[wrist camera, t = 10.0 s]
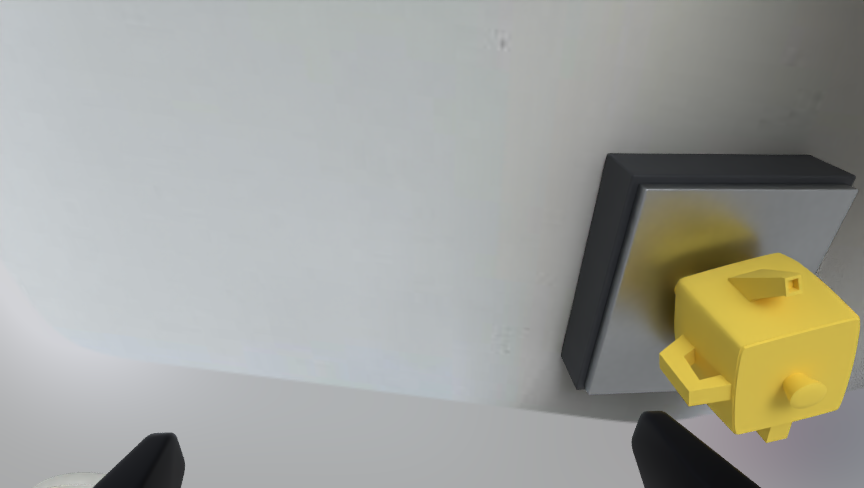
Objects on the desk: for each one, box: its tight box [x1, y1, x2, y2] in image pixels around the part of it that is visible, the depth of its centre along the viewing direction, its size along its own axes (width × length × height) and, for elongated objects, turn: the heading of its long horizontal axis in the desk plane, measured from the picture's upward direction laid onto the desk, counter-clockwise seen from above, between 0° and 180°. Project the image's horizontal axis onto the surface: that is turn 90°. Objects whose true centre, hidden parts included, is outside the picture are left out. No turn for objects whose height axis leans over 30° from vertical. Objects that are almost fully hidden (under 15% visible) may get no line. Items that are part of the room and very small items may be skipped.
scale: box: [561, 153, 858, 395], centre depth 22 cm, size 11×9×3 cm
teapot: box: [659, 253, 860, 443], centre depth 18 cm, size 8×6×5 cm
